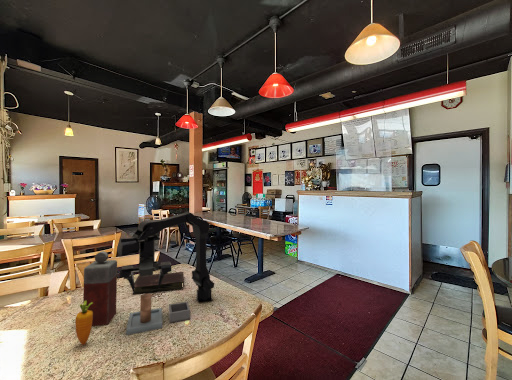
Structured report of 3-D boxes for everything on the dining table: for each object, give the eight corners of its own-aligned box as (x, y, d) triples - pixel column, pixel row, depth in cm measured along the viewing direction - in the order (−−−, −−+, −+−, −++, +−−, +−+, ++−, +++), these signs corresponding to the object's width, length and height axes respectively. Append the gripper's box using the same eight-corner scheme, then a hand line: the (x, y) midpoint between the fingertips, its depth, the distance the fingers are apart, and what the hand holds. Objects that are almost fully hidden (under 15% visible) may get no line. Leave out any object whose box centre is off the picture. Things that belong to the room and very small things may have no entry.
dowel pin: (151, 316, 97) (151, 292, 97) (150, 321, 93) (151, 297, 93) (140, 318, 95) (141, 294, 95) (139, 324, 92) (140, 298, 92)
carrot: (81, 340, 83) (81, 298, 83) (95, 339, 83) (96, 298, 83) (71, 350, 78) (71, 305, 78) (86, 349, 78) (87, 304, 78)
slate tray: (161, 312, 102) (161, 307, 102) (162, 328, 91) (162, 322, 91) (129, 317, 97) (129, 313, 97) (126, 335, 86) (126, 329, 86)
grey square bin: (187, 310, 104) (187, 301, 104) (189, 319, 97) (190, 310, 97) (168, 313, 101) (168, 304, 101) (169, 323, 94) (169, 313, 94)
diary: (138, 283, 135) (138, 274, 135) (183, 278, 143) (183, 270, 143) (131, 296, 117) (132, 286, 118) (183, 291, 125) (183, 281, 125)
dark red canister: (118, 310, 103) (119, 247, 103) (107, 324, 92) (109, 254, 92) (95, 312, 101) (97, 248, 101) (82, 327, 90) (83, 255, 90)
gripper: (117, 259, 84) (117, 302, 84) (172, 254, 91) (171, 294, 92) (122, 252, 94) (121, 290, 94) (170, 248, 102) (170, 283, 102)
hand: (146, 289), depth 95 cm, fingers open, 9 cm apart
